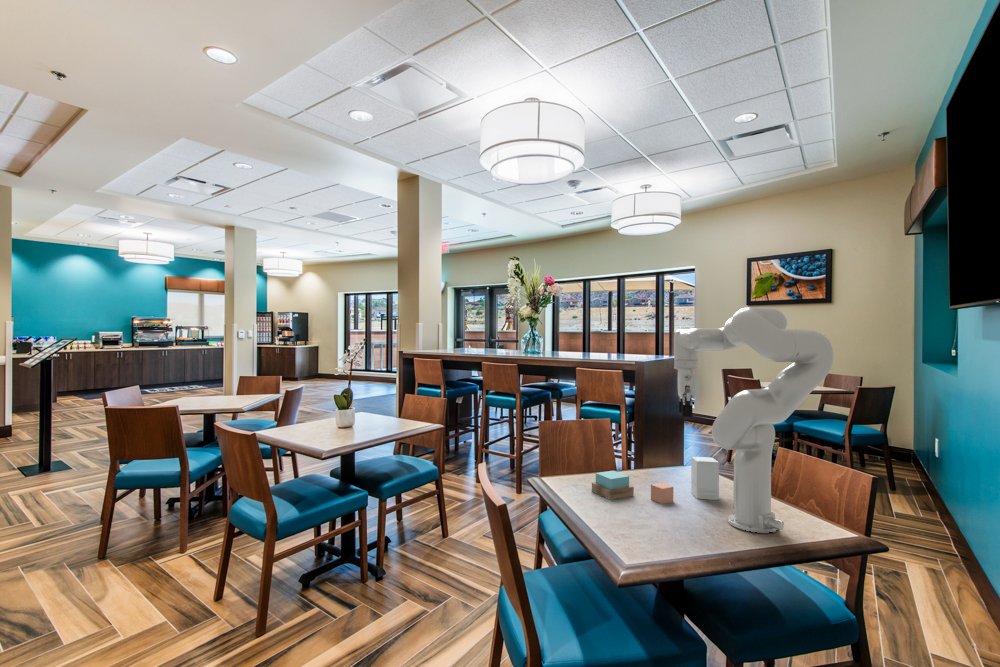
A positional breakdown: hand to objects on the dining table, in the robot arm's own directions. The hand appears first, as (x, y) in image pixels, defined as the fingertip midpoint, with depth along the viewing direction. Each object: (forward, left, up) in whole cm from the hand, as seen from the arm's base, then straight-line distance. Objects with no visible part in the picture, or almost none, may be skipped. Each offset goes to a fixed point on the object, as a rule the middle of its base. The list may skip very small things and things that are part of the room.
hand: (685, 414), depth 161 cm
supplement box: (-3, -6, -28) cm, 29 cm away
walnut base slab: (+13, +21, -28) cm, 37 cm away
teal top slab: (+13, +21, -25) cm, 35 cm away
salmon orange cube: (0, +11, -28) cm, 30 cm away
